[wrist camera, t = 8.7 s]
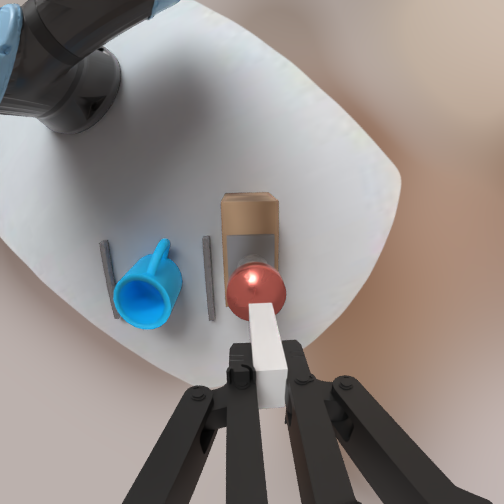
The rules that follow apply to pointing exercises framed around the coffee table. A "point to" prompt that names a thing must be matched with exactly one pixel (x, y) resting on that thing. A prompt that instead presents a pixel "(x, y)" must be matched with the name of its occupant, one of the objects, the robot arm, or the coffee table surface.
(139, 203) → the coffee table surface
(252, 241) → the end cabinet
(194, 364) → the coffee table surface
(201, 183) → the coffee table surface
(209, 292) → the pair of gray bars
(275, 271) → the red rounded piece
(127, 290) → the mug
